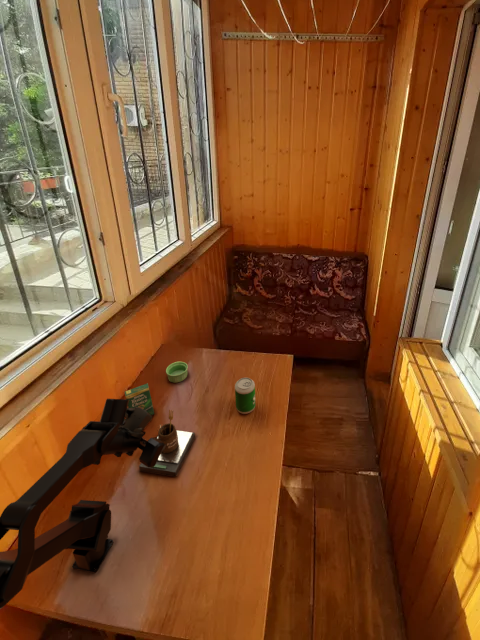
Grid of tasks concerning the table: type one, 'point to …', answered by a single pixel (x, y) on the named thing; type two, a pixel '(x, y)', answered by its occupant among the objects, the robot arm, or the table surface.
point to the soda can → (245, 395)
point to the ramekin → (177, 371)
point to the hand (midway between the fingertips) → (154, 440)
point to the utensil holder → (168, 435)
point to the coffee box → (140, 398)
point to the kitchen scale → (172, 456)
